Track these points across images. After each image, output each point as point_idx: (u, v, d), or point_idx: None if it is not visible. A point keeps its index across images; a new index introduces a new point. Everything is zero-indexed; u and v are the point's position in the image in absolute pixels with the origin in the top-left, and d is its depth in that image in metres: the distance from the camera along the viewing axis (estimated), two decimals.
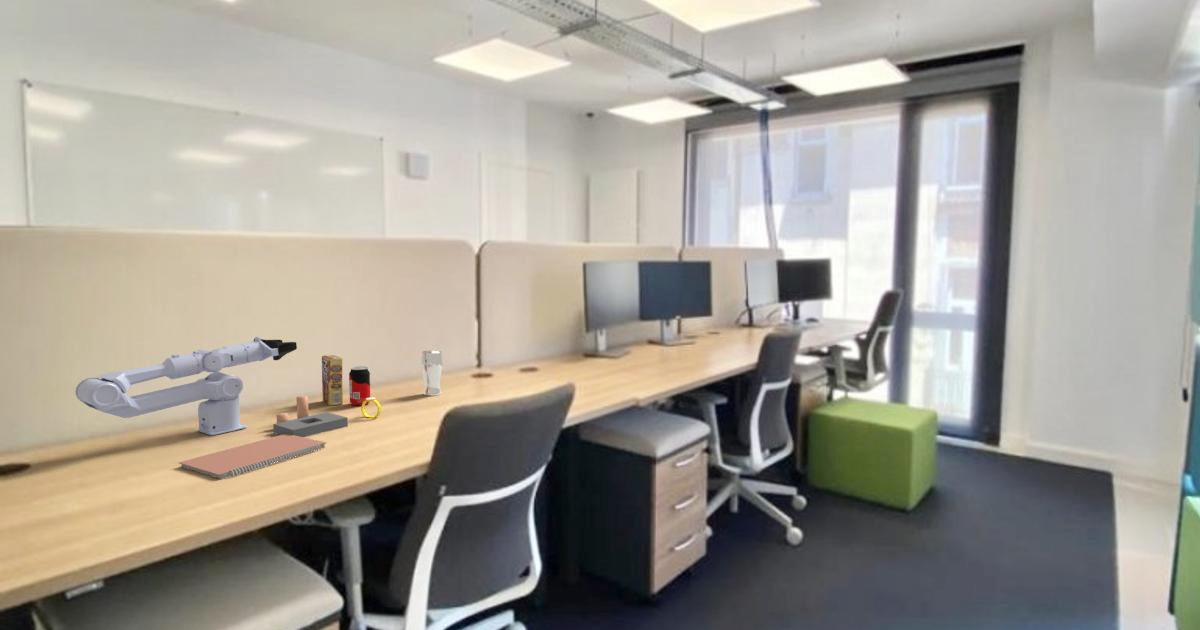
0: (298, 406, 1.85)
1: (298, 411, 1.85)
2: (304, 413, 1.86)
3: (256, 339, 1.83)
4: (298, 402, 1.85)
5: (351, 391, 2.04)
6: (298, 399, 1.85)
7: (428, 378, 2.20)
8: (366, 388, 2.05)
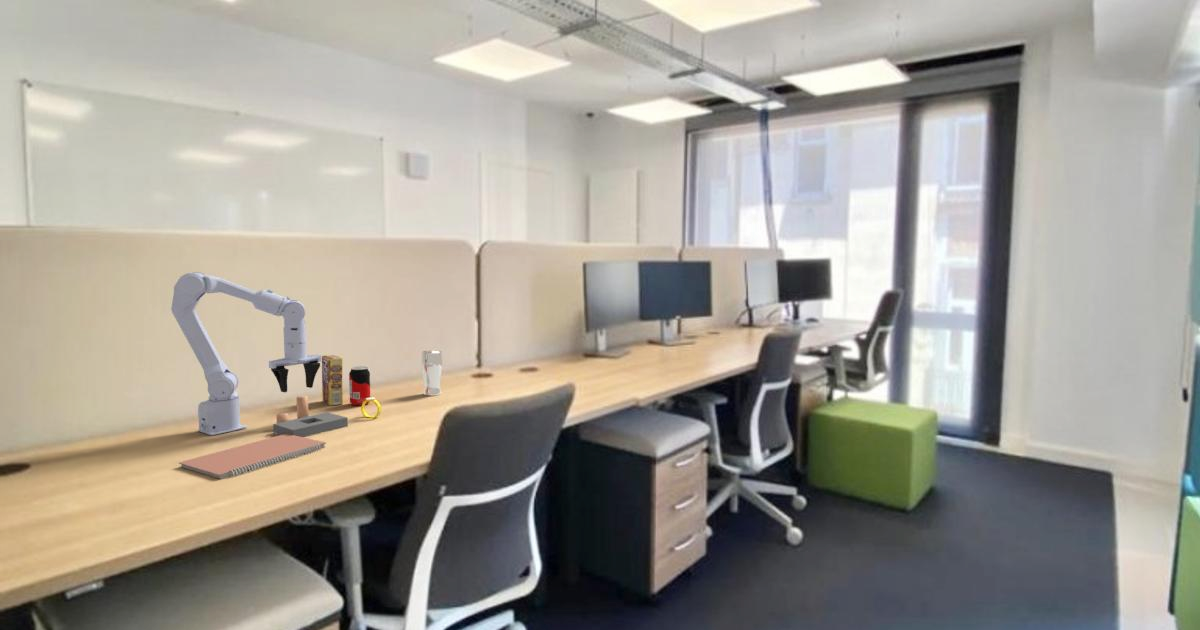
0: (298, 406, 1.85)
1: (298, 411, 1.85)
2: (304, 413, 1.86)
3: (302, 359, 1.81)
4: (298, 402, 1.85)
5: (351, 391, 2.04)
6: (298, 399, 1.85)
7: (428, 378, 2.20)
8: (366, 388, 2.05)
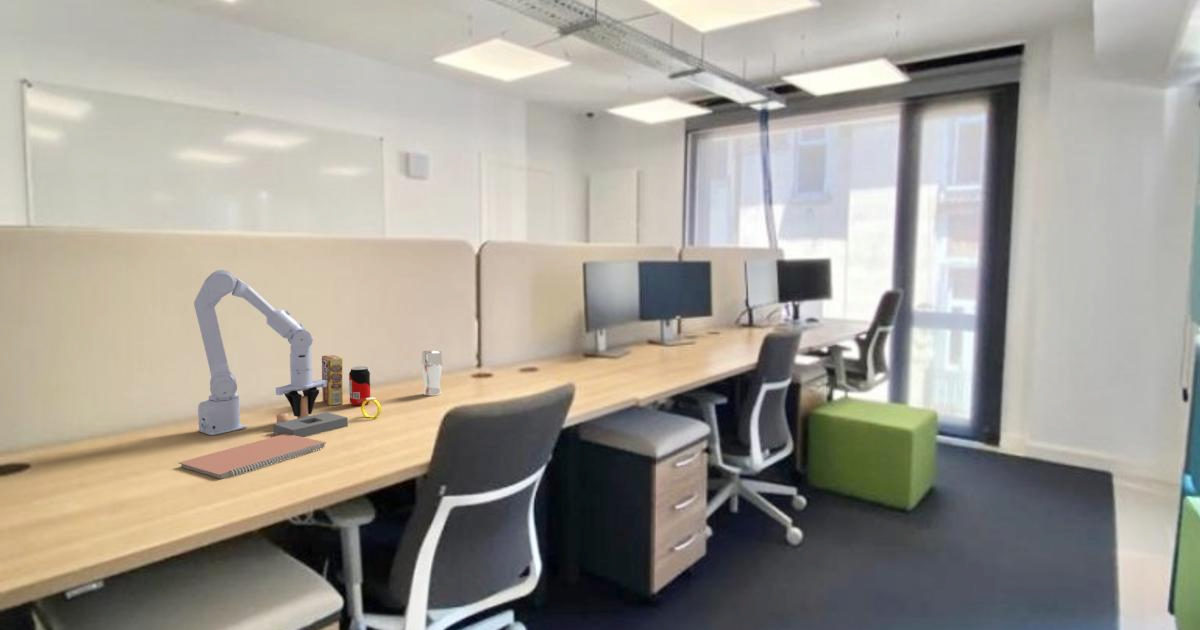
0: None
1: None
2: (304, 413, 1.86)
3: (308, 385, 1.84)
4: None
5: (351, 391, 2.04)
6: None
7: (428, 378, 2.20)
8: (366, 388, 2.05)
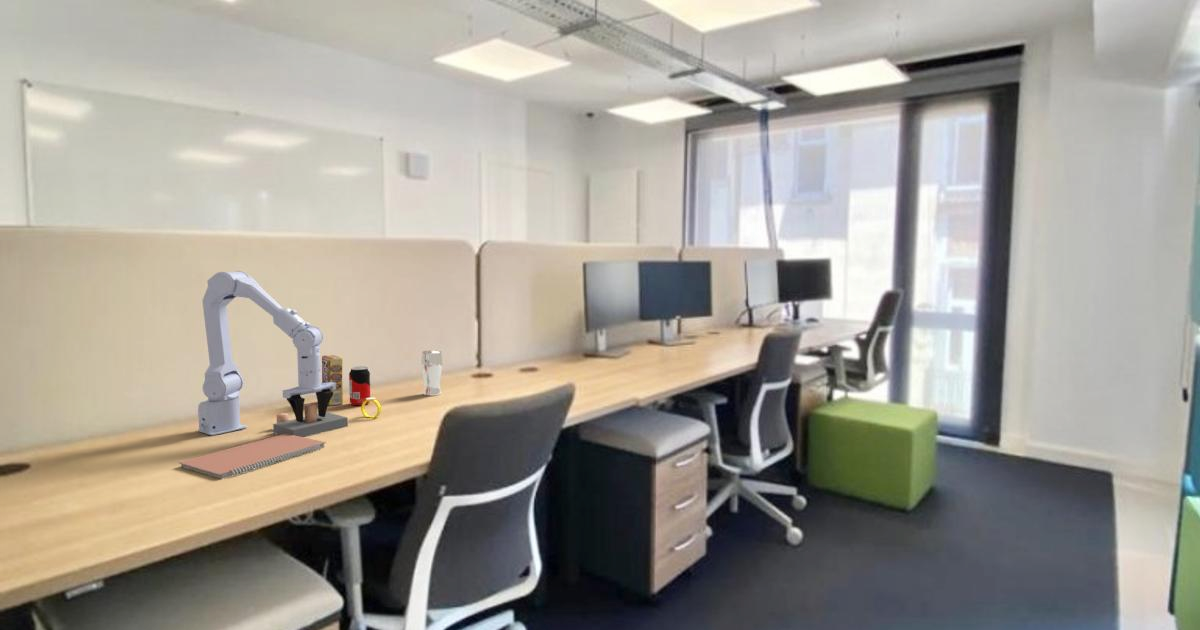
0: (306, 415, 1.76)
1: (306, 420, 1.76)
2: (313, 422, 1.76)
3: (317, 387, 1.75)
4: (306, 410, 1.76)
5: (351, 391, 2.04)
6: (306, 407, 1.76)
7: (428, 378, 2.20)
8: (366, 388, 2.05)
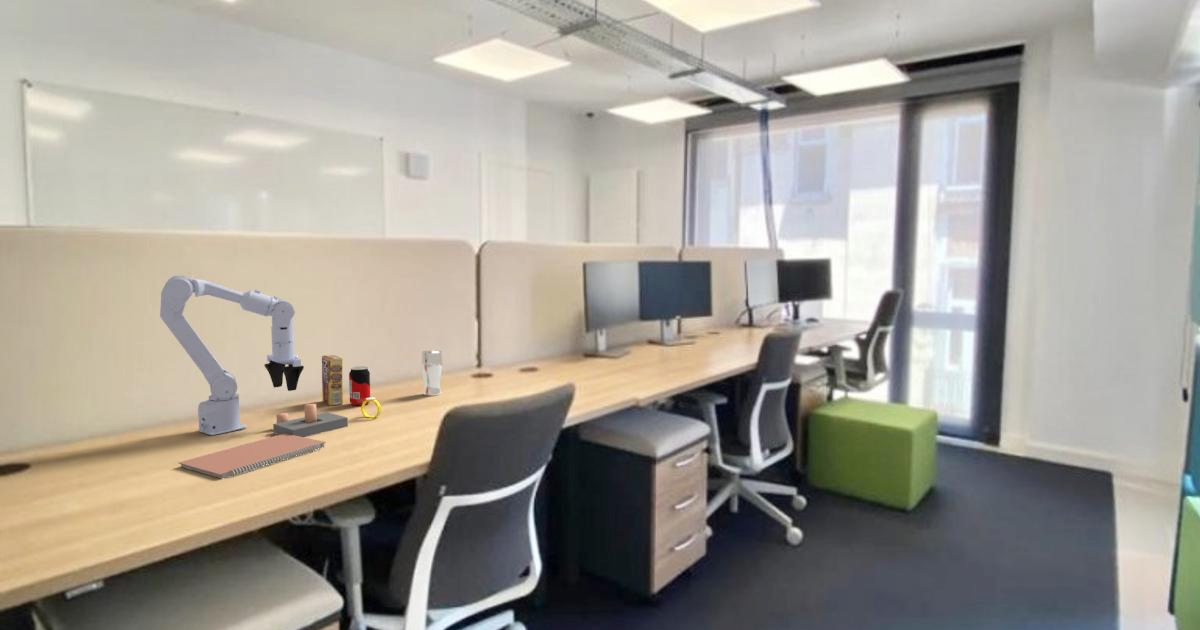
0: (306, 415, 1.76)
1: (306, 420, 1.76)
2: (313, 422, 1.76)
3: None
4: (306, 410, 1.76)
5: (351, 391, 2.04)
6: (306, 407, 1.76)
7: (428, 378, 2.20)
8: (366, 388, 2.05)
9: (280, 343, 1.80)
